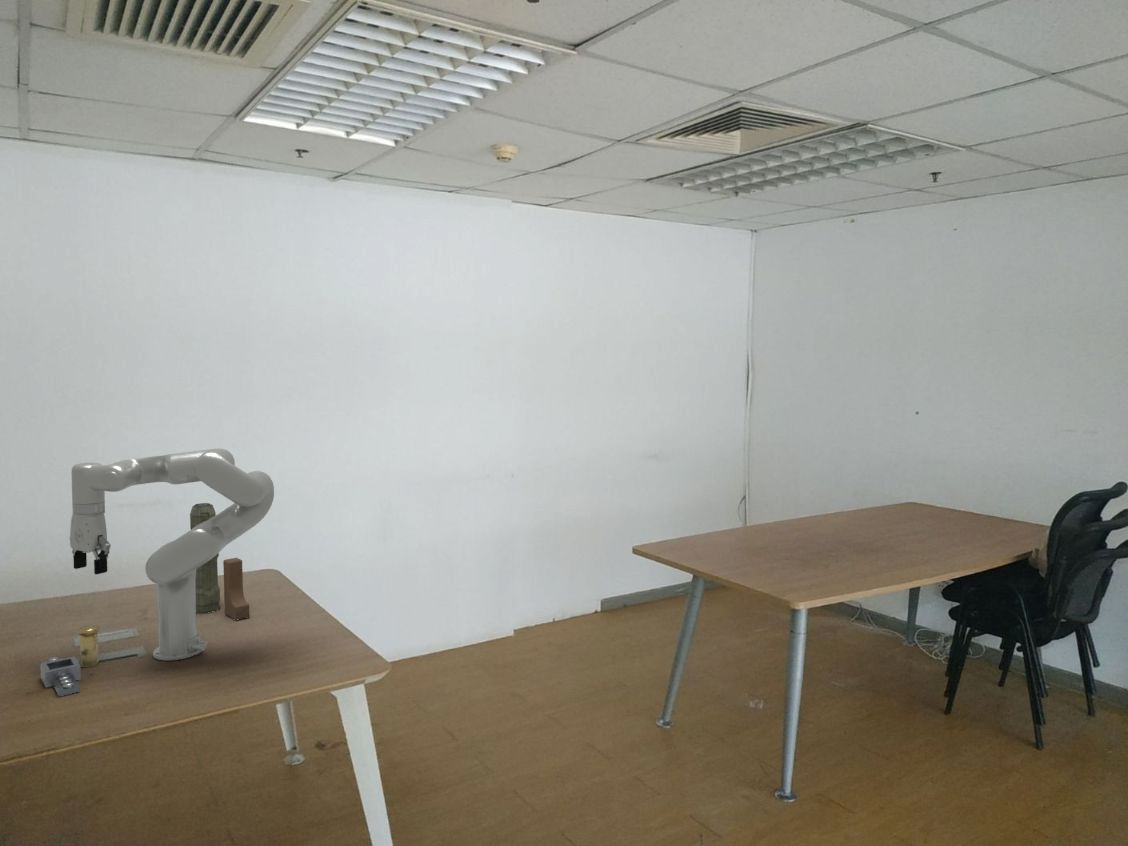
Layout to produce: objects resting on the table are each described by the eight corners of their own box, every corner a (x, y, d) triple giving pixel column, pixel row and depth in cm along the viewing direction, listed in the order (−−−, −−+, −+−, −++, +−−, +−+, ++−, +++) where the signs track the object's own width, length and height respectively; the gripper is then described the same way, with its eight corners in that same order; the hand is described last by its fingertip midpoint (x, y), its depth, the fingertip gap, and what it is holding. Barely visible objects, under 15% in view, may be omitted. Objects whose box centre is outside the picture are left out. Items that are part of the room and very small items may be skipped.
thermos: (198, 616, 246) (194, 508, 243) (185, 608, 255) (182, 503, 252) (226, 610, 252) (223, 505, 250) (212, 602, 261) (210, 500, 258)
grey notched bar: (87, 690, 192) (86, 674, 191) (51, 698, 187) (50, 682, 186) (69, 661, 209) (69, 647, 209) (36, 669, 204) (35, 654, 204)
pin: (105, 661, 210) (103, 625, 209) (90, 668, 205) (88, 632, 204) (89, 659, 211) (88, 624, 210) (74, 666, 206) (72, 630, 205)
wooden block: (250, 617, 246) (248, 562, 244) (235, 621, 243) (234, 565, 241) (238, 611, 252) (236, 557, 251) (224, 614, 249) (222, 559, 248)
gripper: (56, 507, 210) (58, 568, 212) (93, 514, 202) (94, 578, 203) (84, 503, 217) (86, 562, 218) (121, 510, 208) (122, 572, 210)
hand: (90, 570), depth 211 cm, fingers open, 9 cm apart
